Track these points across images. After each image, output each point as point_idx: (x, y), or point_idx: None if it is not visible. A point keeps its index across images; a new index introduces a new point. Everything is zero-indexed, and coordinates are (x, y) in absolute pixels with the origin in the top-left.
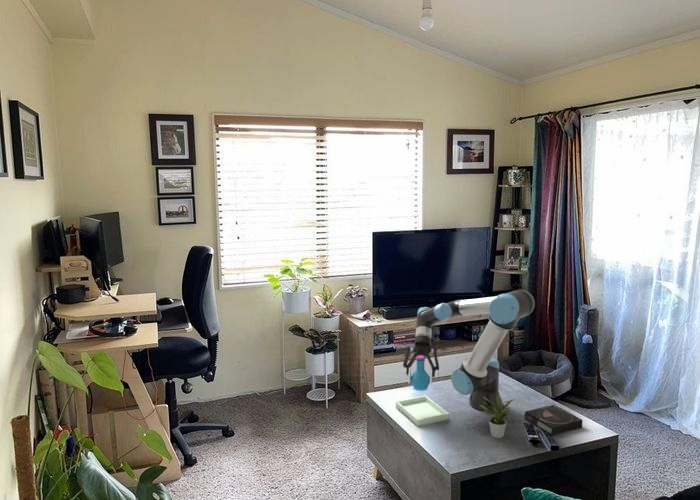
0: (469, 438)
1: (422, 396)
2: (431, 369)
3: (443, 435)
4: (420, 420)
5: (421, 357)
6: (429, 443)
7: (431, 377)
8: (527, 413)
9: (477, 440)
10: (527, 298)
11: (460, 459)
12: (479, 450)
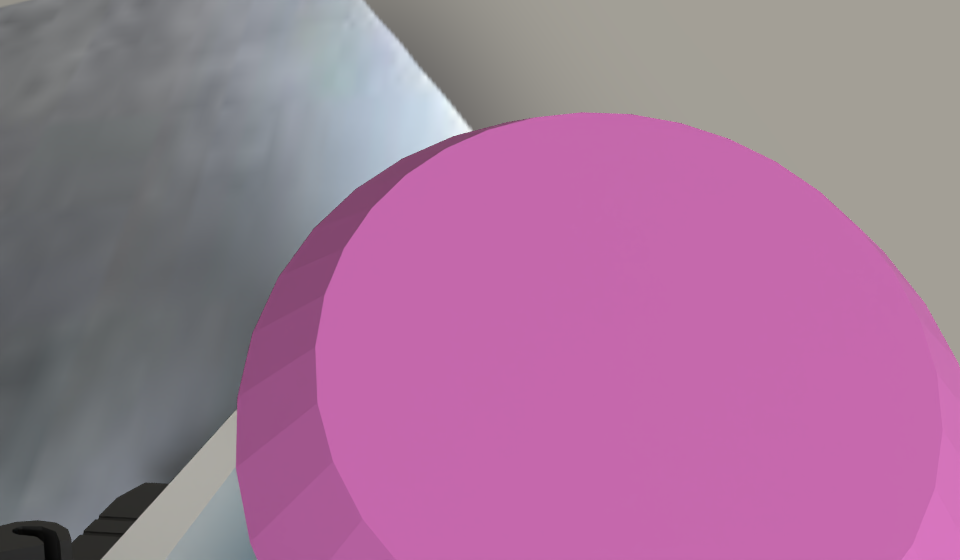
0: (80, 221)
1: None
2: (137, 551)
3: (283, 239)
4: None
5: (534, 208)
6: (402, 132)
7: (232, 420)
8: None
9: (25, 202)
10: None
11: (222, 9)
12: (65, 94)
